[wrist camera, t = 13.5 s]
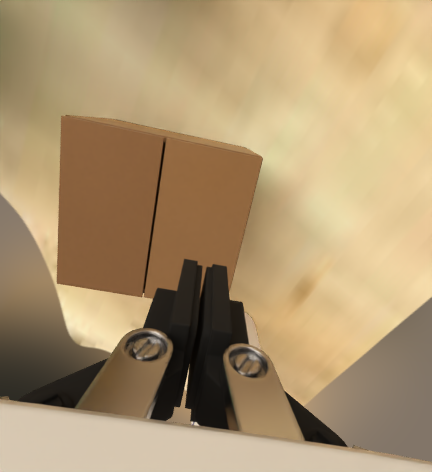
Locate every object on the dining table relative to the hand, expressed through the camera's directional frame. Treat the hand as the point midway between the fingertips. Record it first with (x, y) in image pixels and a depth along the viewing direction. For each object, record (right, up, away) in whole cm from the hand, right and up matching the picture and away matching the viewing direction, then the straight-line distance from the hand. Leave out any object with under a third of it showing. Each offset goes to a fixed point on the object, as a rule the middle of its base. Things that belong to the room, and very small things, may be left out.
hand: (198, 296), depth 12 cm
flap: (-1, +3, +10) cm, 10 cm away
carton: (-4, +7, +18) cm, 20 cm away
